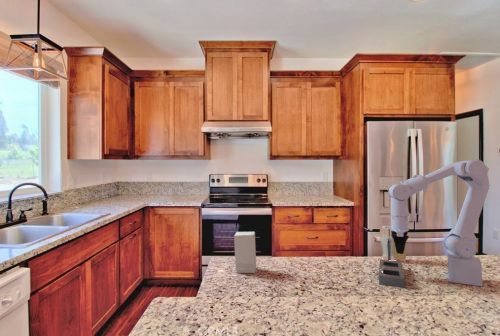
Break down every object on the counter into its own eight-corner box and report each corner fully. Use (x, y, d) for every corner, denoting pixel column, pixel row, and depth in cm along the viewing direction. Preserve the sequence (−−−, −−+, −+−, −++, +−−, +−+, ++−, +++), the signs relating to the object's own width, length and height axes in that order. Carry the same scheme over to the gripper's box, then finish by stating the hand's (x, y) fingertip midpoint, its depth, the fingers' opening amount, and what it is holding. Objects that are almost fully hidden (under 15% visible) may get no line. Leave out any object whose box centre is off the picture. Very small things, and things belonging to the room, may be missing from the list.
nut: (405, 256, 103) (404, 240, 103) (405, 259, 99) (405, 243, 99) (393, 255, 105) (392, 239, 105) (393, 258, 101) (393, 242, 101)
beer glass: (396, 263, 117) (395, 229, 117) (379, 260, 121) (378, 227, 121) (398, 259, 122) (398, 226, 123) (382, 256, 126) (381, 224, 127)
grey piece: (401, 269, 110) (401, 261, 110) (404, 288, 92) (404, 279, 92) (380, 266, 113) (379, 259, 113) (379, 284, 95) (378, 275, 96)
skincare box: (256, 268, 113) (255, 231, 114) (255, 274, 107) (254, 234, 107) (236, 267, 114) (236, 231, 115) (234, 273, 108) (234, 234, 108)
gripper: (387, 212, 110) (388, 245, 110) (387, 218, 97) (387, 255, 97) (407, 213, 107) (408, 248, 107) (409, 219, 94) (410, 258, 94)
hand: (399, 251), depth 102 cm, fingers closed on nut, 4 cm apart
